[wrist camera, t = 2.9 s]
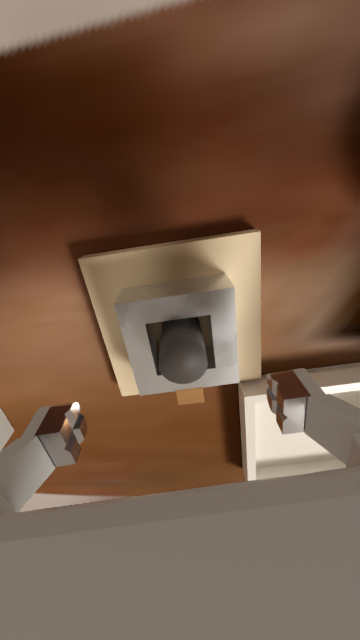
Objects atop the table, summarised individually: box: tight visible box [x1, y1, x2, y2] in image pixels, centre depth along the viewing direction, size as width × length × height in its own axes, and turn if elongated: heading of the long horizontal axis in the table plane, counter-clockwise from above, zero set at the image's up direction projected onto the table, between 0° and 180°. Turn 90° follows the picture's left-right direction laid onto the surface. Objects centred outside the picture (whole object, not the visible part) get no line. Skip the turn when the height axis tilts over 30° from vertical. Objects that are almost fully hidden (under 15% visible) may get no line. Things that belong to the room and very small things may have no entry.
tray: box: [238, 362, 360, 481], centre depth 21 cm, size 11×11×2 cm
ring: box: [114, 273, 240, 405], centre depth 15 cm, size 6×7×2 cm
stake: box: [78, 229, 261, 396], centre depth 15 cm, size 10×10×5 cm
